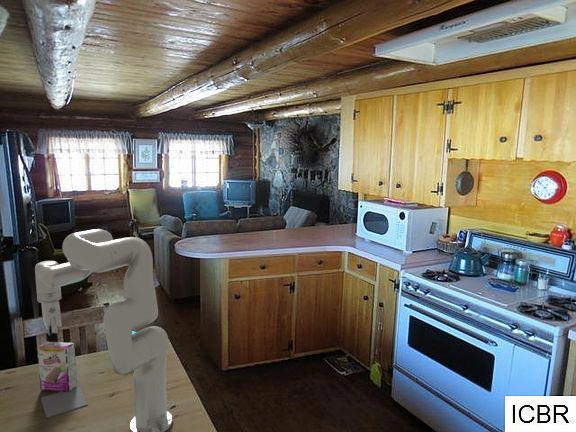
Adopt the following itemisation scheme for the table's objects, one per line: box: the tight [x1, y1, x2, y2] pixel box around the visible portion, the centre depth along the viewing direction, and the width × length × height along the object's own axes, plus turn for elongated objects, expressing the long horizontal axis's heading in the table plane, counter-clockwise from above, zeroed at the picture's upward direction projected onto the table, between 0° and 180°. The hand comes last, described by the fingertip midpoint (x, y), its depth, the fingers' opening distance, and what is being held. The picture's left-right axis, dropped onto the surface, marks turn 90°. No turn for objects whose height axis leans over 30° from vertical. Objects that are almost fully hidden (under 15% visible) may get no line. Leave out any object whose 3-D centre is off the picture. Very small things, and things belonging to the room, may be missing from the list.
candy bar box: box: [36, 341, 78, 392], centre depth 147 cm, size 11×5×16 cm, turn 84°
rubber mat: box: [40, 386, 88, 419], centre depth 141 cm, size 13×12×1 cm
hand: (52, 343), depth 153 cm, fingers closed
